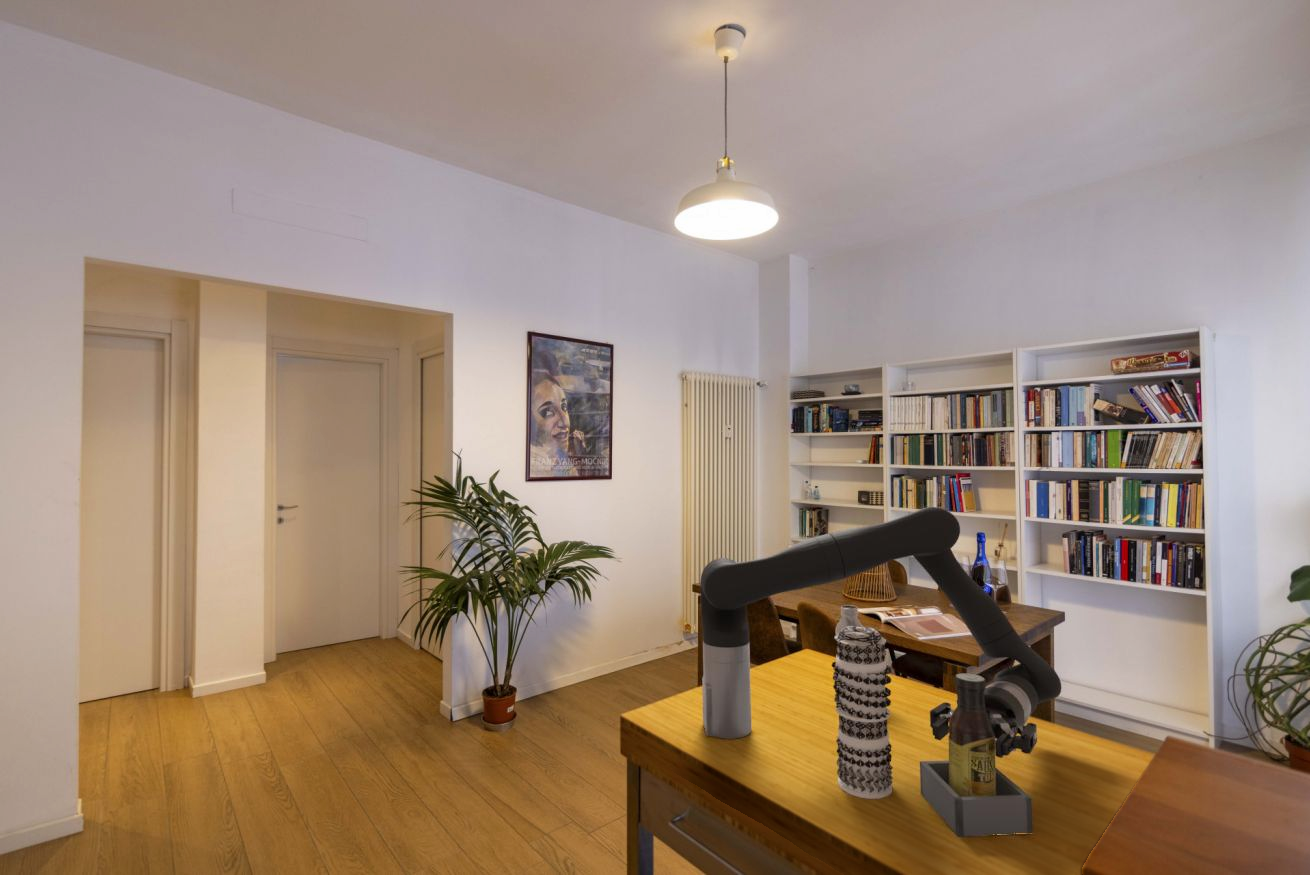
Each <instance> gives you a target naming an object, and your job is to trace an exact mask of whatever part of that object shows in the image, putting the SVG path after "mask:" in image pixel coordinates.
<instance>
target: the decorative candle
mask: <svg viewBox="0 0 1310 875" xmlns="http://www.w3.org/2000/svg"><path fill="white" fill-rule="evenodd" d="M833 639H834V640H836V650H837V651H836V655H835V661H833V662H832V663H831V667H832V668H833V676H832V679H833V683H834V684H833V685H832V687H833V689H834V692H835V694H834V700H833V701H834V702H835V705H836V706H835V711H836V713H837V714H838V724H839V725H838V727H837V730H838V732H837V739H836V740H835V741H836V744H837V749H836V753H837V756H838V757H837V760H836V765H837V771H836V773H837V776H838V781H837V784H838V786H839V788H840V789H841V790H843V791H844V792H846V793H847V794H848V795H851V796H854V797H857V798H861V799H867V800H879V799H883V798H886V797H889V795H891V794H892V793H893V776H892V774H893V771H892V770H893V766H892V765H891V762H892V755H893V754H891V751H892V748H893V747H892V744H891V743H890V738H889V737H890V736H889V735H890V734H889V730H888V719H890V714H891V713H890V712H891V711H890V710H889V708H888V707H889V706H891V704H892V701H891V700H890V698H888V697H890V696H891V695H892V691H891V689H890V688H889V687H888V686H887V685H889V684H890V683H892V678H891V677H890V676H889V674H891V673H892V668H891V666H889V665H887V658H886V653H885V652H886V650H885V649H886V647H885V645H886V643H887V639H886V638H885V637H883V636H882V635H881V633H880V632H879V631H878V630H876V629H875V628H873V627H869V626H865V625H862V626H848V627H845V628H843V629H842V630H841V631H840V633H839V634H838V635H836V634H835V635H834V638H833ZM838 675H839V679H838ZM837 686H839V687H838V688H837Z"/></svg>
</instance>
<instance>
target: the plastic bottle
mask: <svg viewBox="0 0 1310 875" xmlns="http://www.w3.org/2000/svg"><path fill="white" fill-rule="evenodd" d="M858 608H859V607H858V606H856V605H851V604H845V605H841V607H840V616H841V618H840V620H839V621H838V622H837V624H836V626H835V629H834V630H835V636H836V635H838V634H839V633H840V631H841V630H842V629H843V628H845V627H848V626H863V624H862V623H861V621H860V620H859V618H858V617H859V612H858V611H859V609H858ZM838 679H839V675H838ZM838 687H839V686H837V688H838Z"/></svg>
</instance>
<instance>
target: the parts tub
mask: <svg viewBox="0 0 1310 875" xmlns="http://www.w3.org/2000/svg"><path fill="white" fill-rule="evenodd" d="M995 768H996V796H977V797H959V796H958V795H957V794H956V793H955V792H954V791H953V790H952V788H951V787H950V786H949V760H926V761H925V760H923V761H922V760H921V761H919V777H920V779H919V780H920V795H921V796H922V797H923V798H924V799H925V800H926V801H927V803H928V804H929V805H930V806H931V807H932V808H933V809H934V811H935V812H936V813H937V814H938V815H939V816H940V817H941V819H942V818H943V819H944V820H945V821H944V820H943V819H942V820H943V821H944V822H945V823H946V822H947V823H946V825H948V827H949V826H950V827H951V828H950V827H949V828H950V829H951V830H952V831H953V832H954V834H956V836H957V837H958V838H964V837H965V836H966V837H965V838H968V837H967V836H973V837H984V836H983V835H993V834H994V835H997V834H1014V833H1015V834H1016V833H1033V834H1034V825H1033V824H1034V823H1033V821H1034V820H1033V802H1032V801H1033V800H1032V796H1030V795H1029V794H1027V792H1026V791H1025V790H1023V789H1022V788H1021V787H1019V786H1018V785H1017V784H1016V783H1015V782H1014V781H1012V780H1011V779H1010V778H1009V777H1007V776H1006V775H1005V774H1004V773H1003V772H1001V771H1000V770H999V769H998V768H997V767H995ZM981 835H982V836H981Z"/></svg>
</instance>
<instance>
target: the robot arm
mask: <svg viewBox="0 0 1310 875" xmlns="http://www.w3.org/2000/svg"><path fill="white" fill-rule="evenodd" d="M960 534H961V525H960V522H959V521H958V518H956V516H955V515H954V514H953V513H952V512H950V511H949V510H947V509H944V508H941V507H936V506H928V507H923V508H921V509H919V510H916V511H913V512H911V513H908V514H906V515H903V516H900V517H897V518H894V519H891V520H888V521H885V522H882V523H881V522H880V523H877V524H872V525H864V526H860V527H859V526H857V527H854V528H848V529H843V530H839V531H835V532H829V533H826V534H821V535H817V536H814V537H810V538H807V539H804V540H801V541H799V542H797V543H795V544H792V545H791V546H789V547H787V548H784V549H783V550H781V551H779V552H777V553H775V554H772V555H769V556H766V557H763V558H762V557H761V558H758V559H757V558H756V559H752V560H746V561H740V562H736V561H735V560H734V559H731V558H728V557H726V558H725V557H718V558H716V559H715V558H714V559H712V560H711V561H710V562H709V563H707V564H706V566H705V567H704V568H703V570H702V572H701V576H700V610H701V611H700V612H701V613H700V614H701V616H700V617H701V627H702V651H703V652H702V661H703V666H702V668H703V676H702V678H701V679H702V681H701V682H702V687H701V688H702V724H703V727H704V728H705V729H704V732H705V736H707V737H715V738H720V739H730V740H731V739H739V738H743V737H746V736H748V735H749V734H750V733H751V732H752V702H751V692H752V691H751V657H750V656H751V654H750V653H751V651H750V647H751V646H750V627H749V622H748V614H747V605H749V604H752V603H755V602H758V601H760V600H763V599H765V598H769V597H772V596H774V595H778V594H780V593H782V594H783V593H785V592H792V591H796V590H803V589H807V588H808V589H809V588H812V587H816V586H820V585H821V586H822V585H825V584H829V583H835V582H838V581H841V580H845V579H848V578H851V577H854V576H857V575H859V574H862V573H866V572H868V571H870V570H872V569H875V568H877V567H879V566H883V565H884V564H887V563H889V562H891V561H894V560H899V559H902V558H907V557H914V559H915V560H916V561H917V562H918V563H919V565H920V566H921V567H923V568H922V569H924V570H925V571H926V572H927V574H928V575H929V577H931V579H932V580H933V581H934V582H935V584H936V585H937V586H938V588H940V591H942V592H943V594H944V595H945V597H946V598H947V599H948V600H949V602H950V604H952V606H953V608H954V609H955V611H956V612H957V614H958V615H959V616H960V618H961V620H962V622H964V624H965V627H966V628H967V629H968V630H969V632H970V634H971V635H972V636H973V638H974V640H975V641H976V643H977V645H978V646H979V647H980V649H981V650H982V652H983V653H984V655H985V656H986V657H988V658H990V659H1002V658H1003V659H1004V658H1010V659H1013V661H1014V660H1015V661H1016V662H1017V663H1019V664H1015V665H1012V666H1010V667H1008V668H1005V669H1003V670H1000V671H999V672H997V673H996V674H994V677H993V682H992V683H990V684H988V685H986V688H985V691H984V698H985V700H984V701H985V710H986V713H987V716H988V719H989V721H990V724H991V727H992V730H993V733H994V735H995V757H997V758H1000V759H1001V758H1003V757H1004V756H1009V755H1010V754H1011V752H1016V751H1017V750H1020V751H1021V752H1022V753H1023V754H1026V755H1027V754H1028V755H1030V754H1031V753H1032V752H1033V750H1034V748H1035V747H1036V744H1037V743H1038V735H1037V734H1038V730H1037V724H1036V723H1033V722H1028V723H1027V721H1028V720H1029V717H1031V716H1032V714H1033V713H1034V712H1035V710H1036V709H1037V706H1038V704H1041V703H1045V702H1048V701H1052V700H1053V699H1054V700H1055V699H1056V698H1057V697H1059V696H1060V695H1061V692H1062V683H1061V679H1060V677H1059V675H1058V673H1057V672H1056V670H1055V669H1054V668H1053V667H1052V666H1051V665H1050V664H1049V663H1048V662H1047V661H1046V660H1045V659H1044V658H1043V657H1041V656H1040V655H1039V654H1038V653H1037V652H1036V651H1035V650H1033V649H1032V647H1031V646H1029V644H1028V643H1026V641H1024V639H1022V637H1021V636H1020V634H1018V632H1017V631H1016V629H1015V628H1014V626H1013V625H1012V623H1011V622H1010V620H1009V619H1008V618H1007V616H1006V615H1005V613H1004V612H1003V610H1002V609H1001V608H1000V606H999V605H998V604H997V603H996V601H995V600H994V599H993V598H992V596H990V595H989V594H988V592H986V591H985V590H984V589H983V588H982V587H981V586H980V584H978V583H977V582H976V581H975V580H974V579H973V578H972V577H971V576H970V575H969V574H968V573H967V571H966V570H965V569H964V567H962V565H961V564H960V562H959V560H957V558H956V556H955V555H954V553H953V551H952V548H953V547H954V546H955V545H956V544H957V542H958V540H959V538H960V536H961V535H960ZM951 705H952V704H951V703H949V702H941V704H939V705H938V706H936V707H934V708H932V709H931V710H930V711H929V719H930V720H929V721H930V722H929V723H930V724H929V727H930V728H931V729H932V736H934V740H938V741H941V740H942V739H944V738H945V737H946V736H947V735H949V720H950V717H951V715H952V714H953V712H954V710H955V709H954V708H951V707H952V706H951ZM1018 734H1019V735H1018Z"/></svg>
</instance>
